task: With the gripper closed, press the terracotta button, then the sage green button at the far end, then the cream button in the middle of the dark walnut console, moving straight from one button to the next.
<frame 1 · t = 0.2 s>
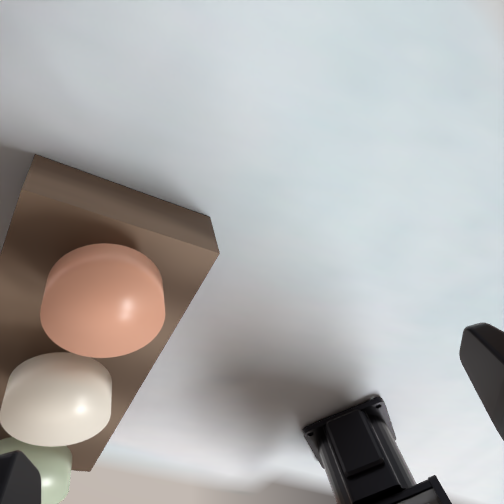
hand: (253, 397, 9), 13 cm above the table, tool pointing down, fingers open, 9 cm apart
button terracotta: (105, 302, 18), point 5 cm above the table, slide at 0.0 cm
console: (70, 321, 24), on the table
button cream: (59, 400, 20), point 5 cm above the table, slide at 0.0 cm
button sage: (23, 476, 23), point 5 cm above the table, slide at 0.0 cm
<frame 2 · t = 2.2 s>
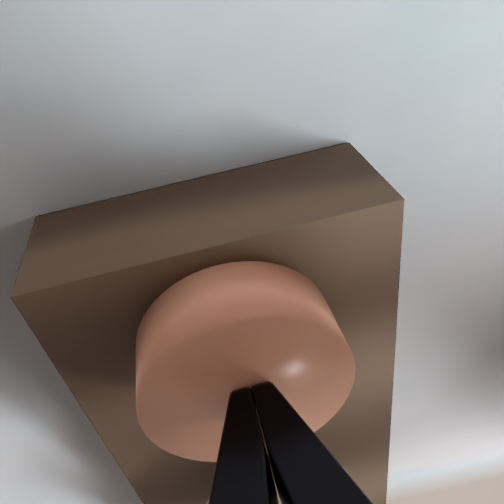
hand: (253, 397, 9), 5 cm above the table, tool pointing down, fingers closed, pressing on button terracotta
button terracotta: (242, 366, 10), point 4 cm above the table, slide at 0.9 cm, touching gripper
console: (248, 385, 17), on the table
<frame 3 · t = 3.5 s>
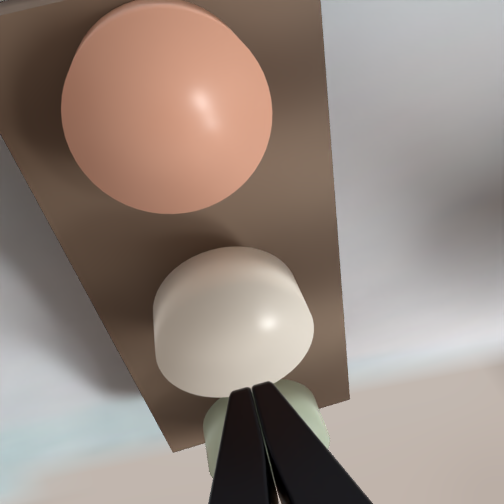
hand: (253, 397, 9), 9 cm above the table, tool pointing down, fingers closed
button terracotta: (169, 112, 10), point 4 cm above the table, slide at 1.1 cm
console: (208, 231, 17), on the table
button cream: (232, 325, 13), point 5 cm above the table, slide at 0.0 cm
button sage: (265, 436, 17), point 5 cm above the table, slide at 0.0 cm
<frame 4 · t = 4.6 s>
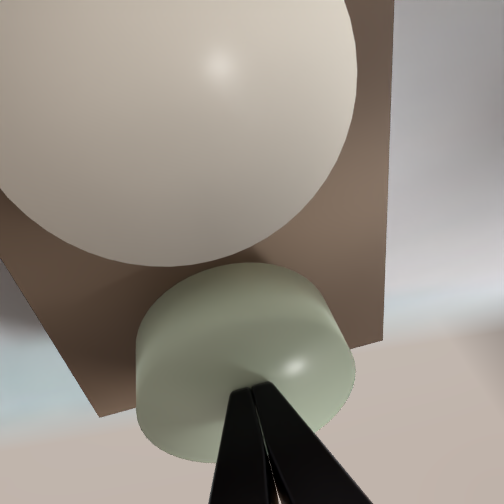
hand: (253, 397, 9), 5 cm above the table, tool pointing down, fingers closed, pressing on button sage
console: (153, 21, 10), on the table
button cream: (168, 90, 6), point 5 cm above the table, slide at 0.0 cm
button sage: (242, 368, 10), point 5 cm above the table, slide at 0.3 cm, touching gripper
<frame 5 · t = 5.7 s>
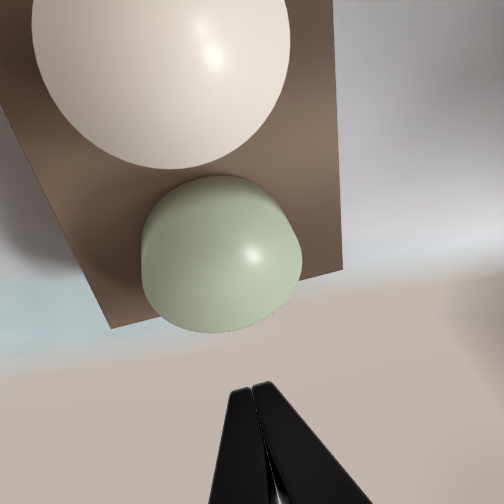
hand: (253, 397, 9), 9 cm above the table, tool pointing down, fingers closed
console: (155, 4, 13), on the table
button cream: (166, 43, 9), point 5 cm above the table, slide at 0.0 cm
button sage: (220, 257, 13), point 4 cm above the table, slide at 1.1 cm
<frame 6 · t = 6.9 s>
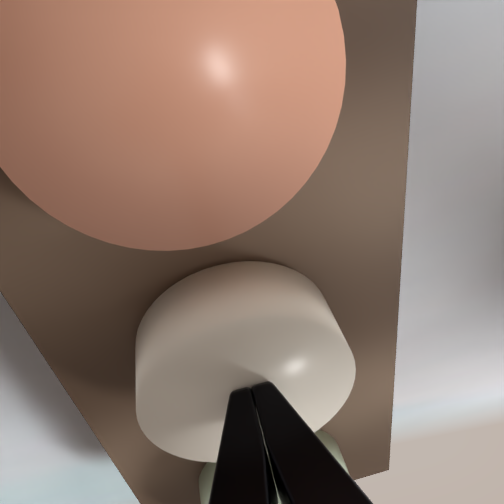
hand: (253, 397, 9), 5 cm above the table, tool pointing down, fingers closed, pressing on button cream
button terracotta: (166, 80, 6), point 4 cm above the table, slide at 1.1 cm
console: (215, 258, 13), on the table
button cream: (242, 367, 10), point 4 cm above the table, slide at 1.0 cm, touching gripper
button sage: (277, 496, 13), point 4 cm above the table, slide at 1.1 cm
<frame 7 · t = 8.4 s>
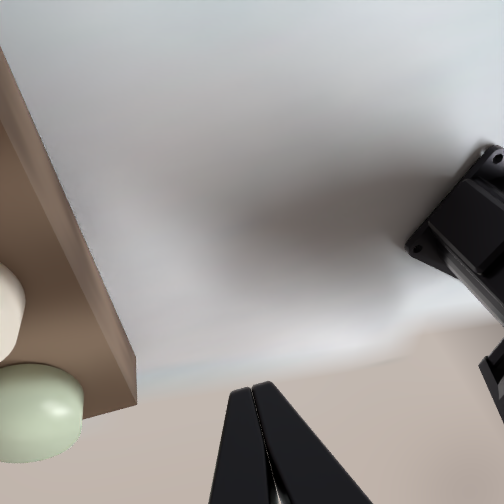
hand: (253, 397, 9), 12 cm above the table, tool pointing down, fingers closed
button sage: (26, 414, 19), point 4 cm above the table, slide at 1.1 cm
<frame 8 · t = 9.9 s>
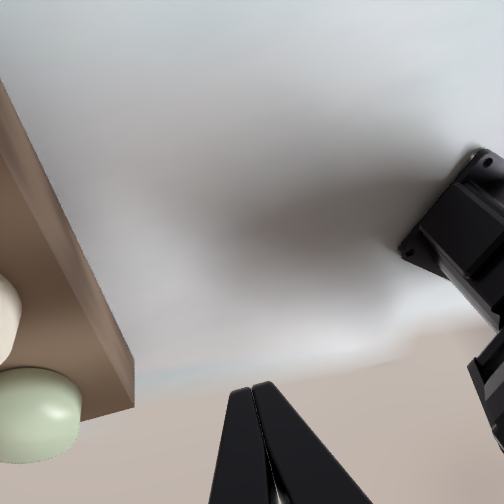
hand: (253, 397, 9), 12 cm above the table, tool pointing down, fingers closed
button sage: (26, 417, 20), point 4 cm above the table, slide at 1.1 cm
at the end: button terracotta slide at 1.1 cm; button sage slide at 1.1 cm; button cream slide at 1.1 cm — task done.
